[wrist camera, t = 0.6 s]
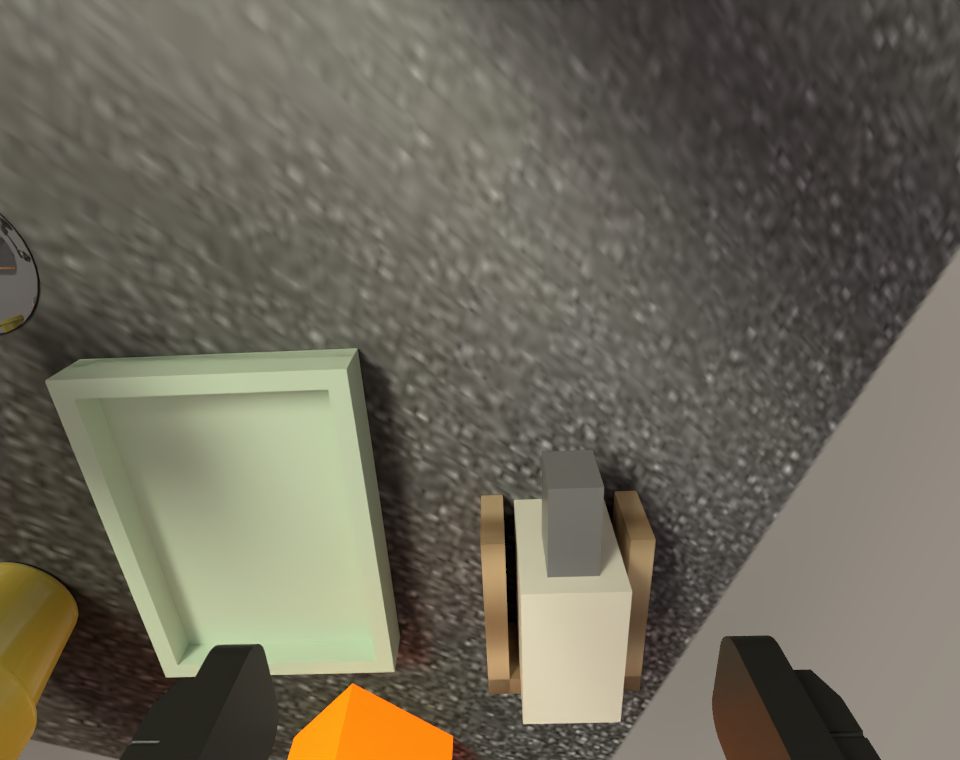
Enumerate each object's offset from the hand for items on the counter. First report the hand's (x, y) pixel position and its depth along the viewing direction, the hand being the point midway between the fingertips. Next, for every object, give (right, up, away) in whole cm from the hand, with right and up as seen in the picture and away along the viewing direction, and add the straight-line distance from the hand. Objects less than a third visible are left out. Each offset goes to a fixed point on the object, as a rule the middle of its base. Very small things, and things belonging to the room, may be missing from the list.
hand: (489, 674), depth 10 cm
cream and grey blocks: (+4, -3, +23) cm, 23 cm away
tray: (-13, -3, +23) cm, 26 cm away
